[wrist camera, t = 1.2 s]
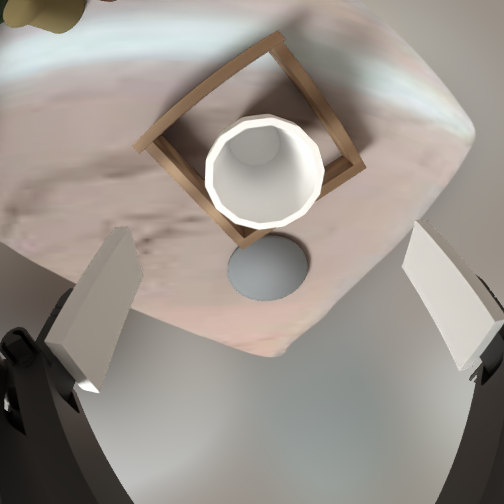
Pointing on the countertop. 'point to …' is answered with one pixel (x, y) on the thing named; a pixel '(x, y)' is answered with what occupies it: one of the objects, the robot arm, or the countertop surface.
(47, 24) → the cork
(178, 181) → the frame
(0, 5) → the toy figurine
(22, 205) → the countertop surface
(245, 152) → the foam cup
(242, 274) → the rubber mat
